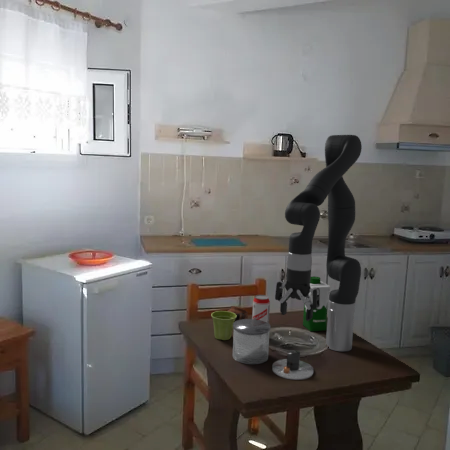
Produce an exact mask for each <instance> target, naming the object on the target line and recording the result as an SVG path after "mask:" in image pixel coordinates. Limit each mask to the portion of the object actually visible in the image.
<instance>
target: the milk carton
mask: <svg viewBox="0 0 450 450" xmlns="http://www.w3.org/2000/svg"><path fill="white" fill-rule="evenodd" d="M310 287H311V288H313V289H316V288H319V289H320V306H319V307H318V308H316V309H313V317H312V319H311V320H309V321H306V309H307V307H306V305H305V304H304V303H303V315H302V316H303V317H302V326H303V327H304V328H306V329H307V330H308V331H310V332H320V331H321V332H322V331H327V319H328V305H329V294H330V292H331V288H332V287H331V286H330V285H328V283H325V282H323V281H322V280H321V277H319V276H311V280H310ZM309 296H310V298H311V301H312V303H313V296H312V295H311V292H310V293H309ZM305 298H306V297H305Z"/></svg>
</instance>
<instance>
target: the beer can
mask: <svg viewBox="0 0 450 450" xmlns="http://www.w3.org/2000/svg"><path fill="white" fill-rule="evenodd" d="M270 307H271V300H270V297H269V296H268V295H265V294H257V295H255V296H254V299H253V301H252V315H251V316H252V317H251V319H256V320H261V321H264V322H267V323H268V324H270V310H271V309H270Z"/></svg>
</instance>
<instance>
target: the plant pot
mask: <svg viewBox="0 0 450 450" xmlns="http://www.w3.org/2000/svg"><path fill="white" fill-rule="evenodd" d="M210 316H211V318H212V322H213V324H212V325H213V333H214V338H215V340H222V341H228V340H230V339H231V338H232V335H233V331H234V328H233V323H234V321H235V318H236V317H237V315H236V314H235V313H232V312H228V310H227V311H226V310H216V311H214V312H211V315H210Z"/></svg>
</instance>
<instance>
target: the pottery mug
mask: <svg viewBox="0 0 450 450" xmlns="http://www.w3.org/2000/svg"><path fill="white" fill-rule="evenodd" d="M227 311H228V312H232V313H235V314H236V315H237V317H236V318H235V321H238V320H242V319H249V318H248V313H249V312H248V311H247V310H245V309H244V308H241V307H239V306H234V305H231V306H230V308H228V309H227ZM235 321H234V322H235Z"/></svg>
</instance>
